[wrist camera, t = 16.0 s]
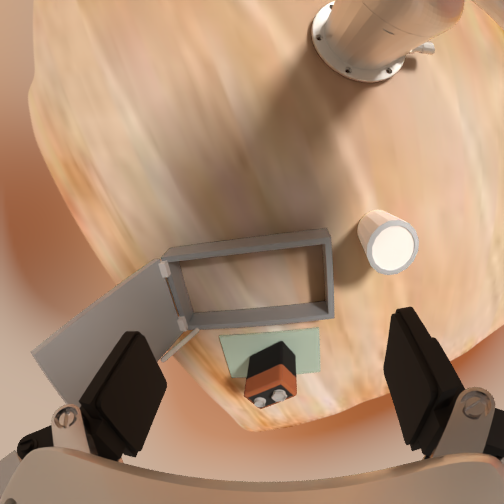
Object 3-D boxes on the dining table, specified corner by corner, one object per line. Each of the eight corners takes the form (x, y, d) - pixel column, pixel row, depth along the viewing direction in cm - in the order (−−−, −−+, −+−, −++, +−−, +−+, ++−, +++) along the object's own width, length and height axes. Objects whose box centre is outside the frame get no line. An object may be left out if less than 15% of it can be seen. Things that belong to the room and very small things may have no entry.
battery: (296, 354, 45) (298, 400, 36) (263, 370, 47) (259, 415, 38) (281, 338, 44) (281, 385, 35) (248, 355, 46) (241, 400, 37)
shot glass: (406, 219, 35) (429, 236, 29) (382, 260, 38) (398, 284, 31) (368, 195, 35) (386, 208, 28) (343, 239, 37) (355, 260, 31)
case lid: (34, 355, 19) (30, 352, 19) (93, 433, 23) (88, 430, 23) (159, 259, 36) (154, 258, 37) (183, 332, 41) (178, 331, 41)
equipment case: (326, 228, 37) (343, 263, 27) (330, 304, 41) (343, 354, 31) (162, 248, 40) (128, 285, 30) (183, 317, 45) (161, 363, 34)
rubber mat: (318, 327, 43) (319, 328, 43) (320, 370, 47) (320, 371, 46) (219, 335, 45) (219, 336, 45) (232, 376, 49) (231, 377, 49)
